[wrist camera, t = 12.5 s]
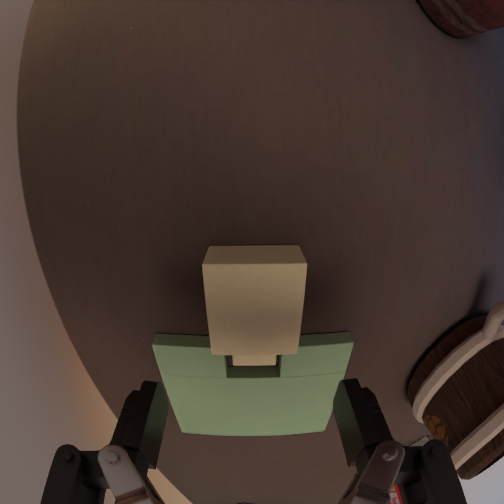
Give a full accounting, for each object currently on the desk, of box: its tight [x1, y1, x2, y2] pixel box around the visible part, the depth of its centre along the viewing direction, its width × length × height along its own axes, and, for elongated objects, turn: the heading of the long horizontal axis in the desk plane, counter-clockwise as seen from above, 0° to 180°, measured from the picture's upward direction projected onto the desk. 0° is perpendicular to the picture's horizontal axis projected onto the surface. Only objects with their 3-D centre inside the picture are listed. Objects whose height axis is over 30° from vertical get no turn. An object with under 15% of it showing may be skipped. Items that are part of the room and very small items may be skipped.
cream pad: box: [202, 245, 307, 366], centre depth 19 cm, size 6×10×3 cm, turn 0°
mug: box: [407, 300, 504, 479], centre depth 16 cm, size 20×15×15 cm
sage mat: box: [152, 332, 354, 436], centre depth 23 cm, size 16×14×2 cm
